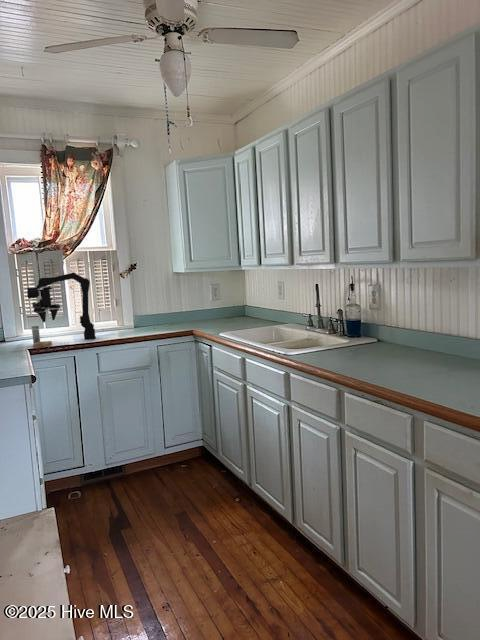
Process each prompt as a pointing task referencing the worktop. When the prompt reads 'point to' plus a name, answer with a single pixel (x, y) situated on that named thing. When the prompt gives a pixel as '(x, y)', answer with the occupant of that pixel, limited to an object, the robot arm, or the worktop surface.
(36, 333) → the column
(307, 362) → the worktop surface
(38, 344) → the step
